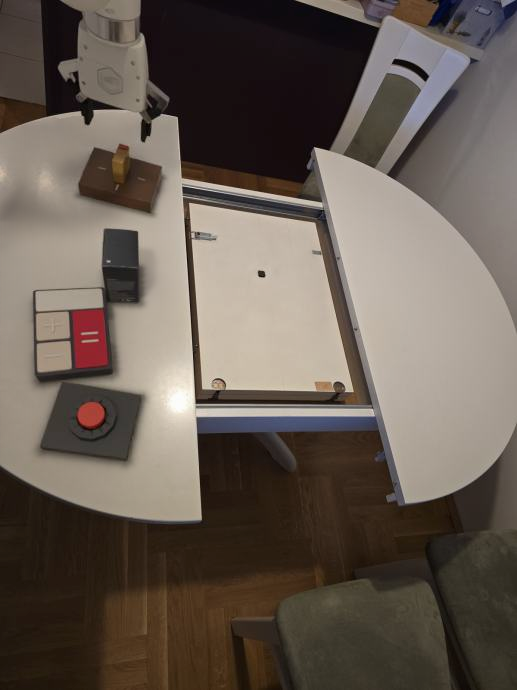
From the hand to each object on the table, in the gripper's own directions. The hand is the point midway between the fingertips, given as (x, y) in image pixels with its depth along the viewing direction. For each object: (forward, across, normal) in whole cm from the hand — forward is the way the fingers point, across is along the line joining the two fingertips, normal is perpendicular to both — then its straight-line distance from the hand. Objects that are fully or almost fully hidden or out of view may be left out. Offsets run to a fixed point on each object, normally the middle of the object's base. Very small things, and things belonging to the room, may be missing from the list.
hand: (117, 129), depth 70 cm
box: (+14, +6, -23) cm, 28 cm away
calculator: (+14, +1, -36) cm, 38 cm away
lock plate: (+13, 0, +1) cm, 13 cm away
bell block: (+14, +8, -49) cm, 52 cm away
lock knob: (+10, 0, +1) cm, 10 cm away
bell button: (+10, +8, -49) cm, 51 cm away
